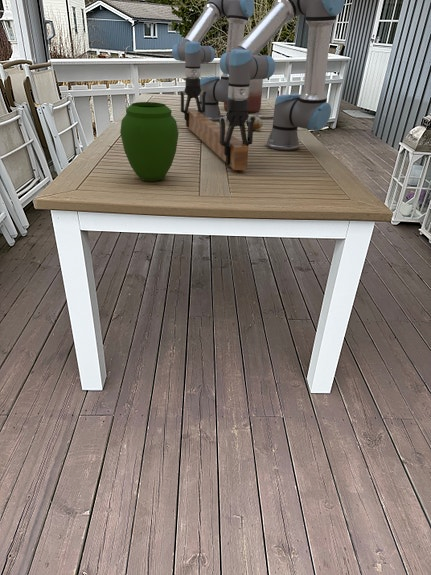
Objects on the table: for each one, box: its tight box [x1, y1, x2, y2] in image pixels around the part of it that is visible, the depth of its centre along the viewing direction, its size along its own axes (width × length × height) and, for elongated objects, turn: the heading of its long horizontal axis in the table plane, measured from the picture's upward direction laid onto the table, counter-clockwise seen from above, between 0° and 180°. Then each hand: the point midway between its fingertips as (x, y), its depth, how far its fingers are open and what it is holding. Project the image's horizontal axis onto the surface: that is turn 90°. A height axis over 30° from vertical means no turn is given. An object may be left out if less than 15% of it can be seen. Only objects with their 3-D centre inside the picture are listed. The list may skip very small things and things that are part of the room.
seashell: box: [245, 114, 264, 131], centre depth 224 cm, size 10×6×8 cm, turn 97°
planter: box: [223, 79, 264, 114], centre depth 276 cm, size 25×25×22 cm
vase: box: [119, 101, 179, 182], centre depth 140 cm, size 20×20×24 cm
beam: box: [184, 107, 249, 171], centre depth 187 cm, size 84×5×8 cm, turn 16°
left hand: (192, 126), depth 217 cm, fingers closed on beam, 5 cm apart
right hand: (234, 163), depth 161 cm, fingers closed on beam, 5 cm apart
